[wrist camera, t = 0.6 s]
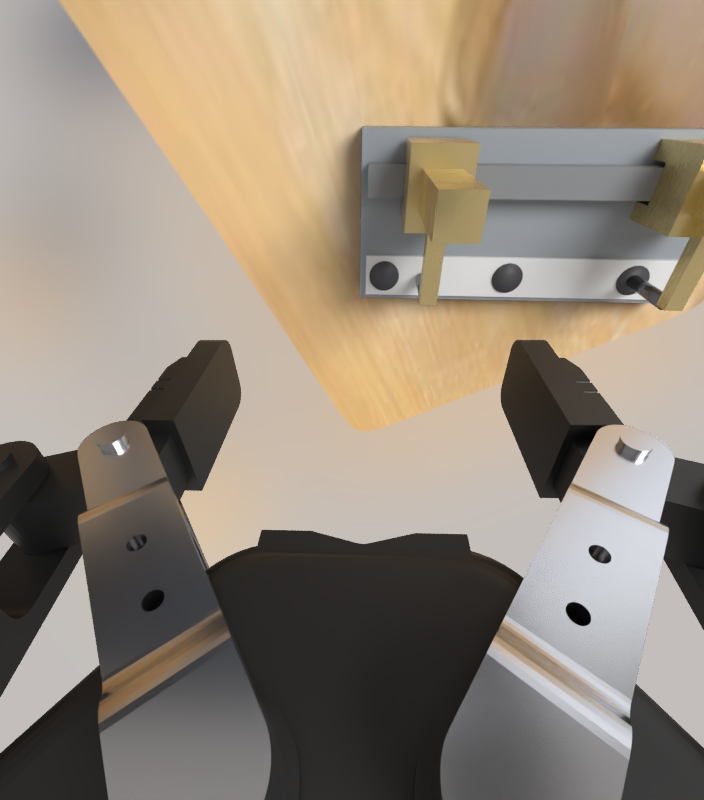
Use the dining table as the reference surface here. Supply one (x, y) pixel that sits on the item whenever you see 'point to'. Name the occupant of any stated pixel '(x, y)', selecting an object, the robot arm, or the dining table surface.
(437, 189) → the slider
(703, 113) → the dining table surface
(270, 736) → the robot arm
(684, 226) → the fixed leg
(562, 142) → the board
